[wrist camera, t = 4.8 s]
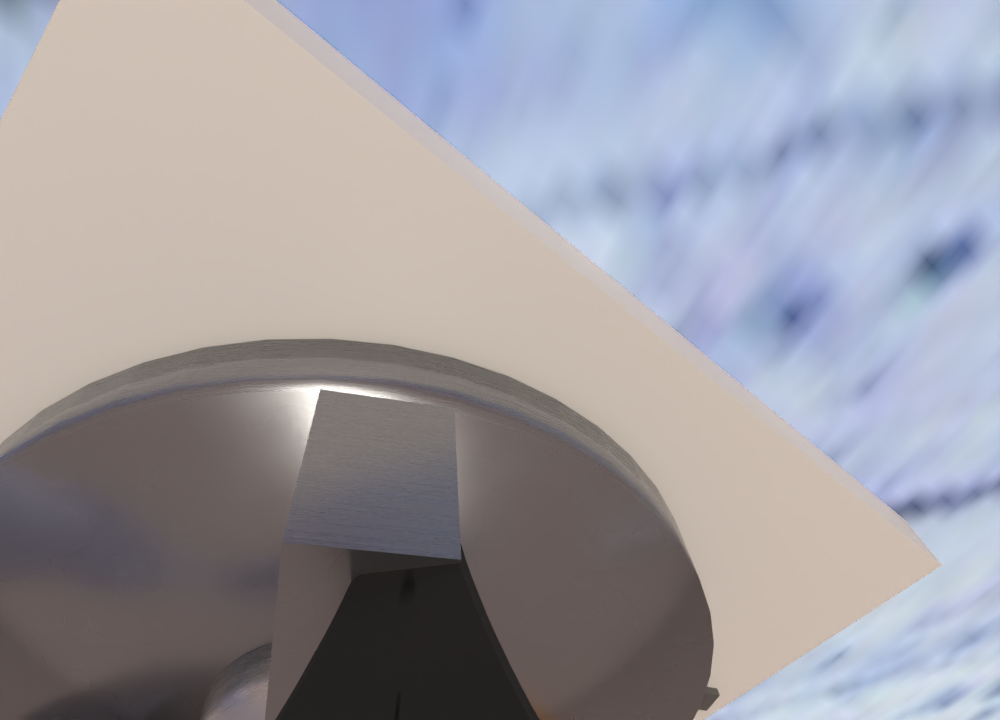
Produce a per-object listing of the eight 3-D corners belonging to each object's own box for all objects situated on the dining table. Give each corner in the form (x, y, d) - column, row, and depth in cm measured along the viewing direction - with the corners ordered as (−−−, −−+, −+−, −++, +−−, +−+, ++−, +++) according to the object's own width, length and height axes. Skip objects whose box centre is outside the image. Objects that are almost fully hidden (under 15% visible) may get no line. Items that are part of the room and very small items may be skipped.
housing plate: (424, 850, 24) (423, 908, 23) (-237, 653, 17) (-301, 721, 15) (904, 519, 17) (947, 571, 16) (154, -101, 10) (105, -107, 8)
